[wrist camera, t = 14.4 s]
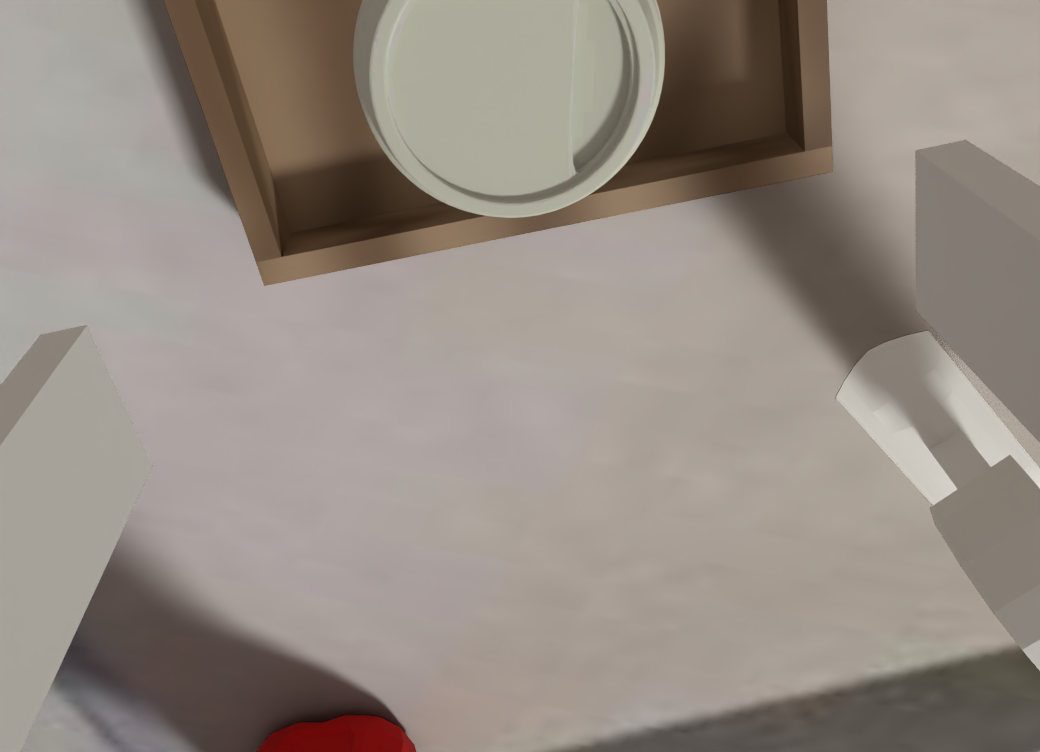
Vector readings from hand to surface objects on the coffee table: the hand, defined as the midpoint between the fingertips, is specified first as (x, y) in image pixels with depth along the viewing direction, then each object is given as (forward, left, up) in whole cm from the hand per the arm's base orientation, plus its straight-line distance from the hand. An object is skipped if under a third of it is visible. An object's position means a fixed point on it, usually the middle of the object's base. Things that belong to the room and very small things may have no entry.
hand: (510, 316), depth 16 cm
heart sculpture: (+18, -23, -25) cm, 39 cm away
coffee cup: (+1, +1, -24) cm, 24 cm away
